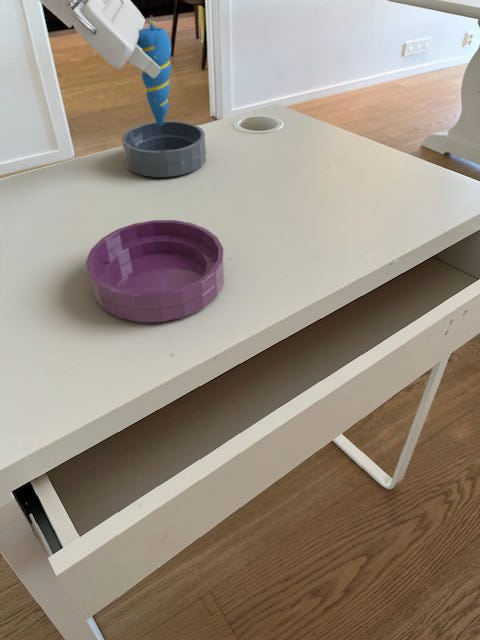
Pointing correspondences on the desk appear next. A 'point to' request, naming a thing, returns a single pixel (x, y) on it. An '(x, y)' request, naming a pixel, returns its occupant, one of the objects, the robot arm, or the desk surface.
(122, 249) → the plum bowl
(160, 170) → the grey bowl
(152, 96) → the ornament
